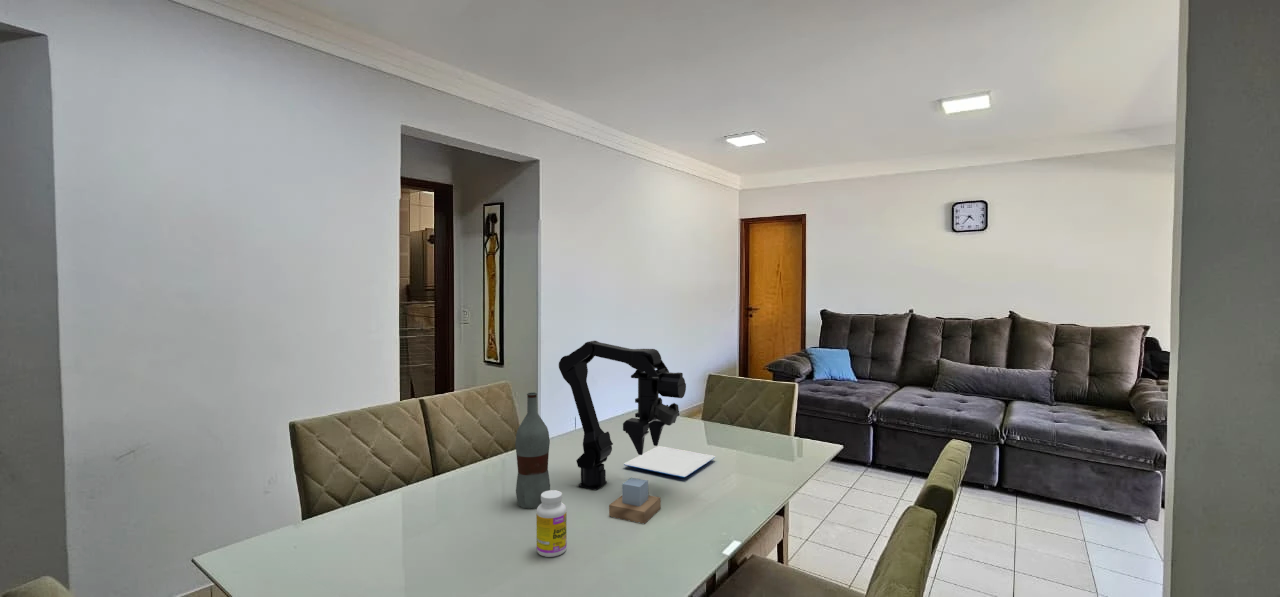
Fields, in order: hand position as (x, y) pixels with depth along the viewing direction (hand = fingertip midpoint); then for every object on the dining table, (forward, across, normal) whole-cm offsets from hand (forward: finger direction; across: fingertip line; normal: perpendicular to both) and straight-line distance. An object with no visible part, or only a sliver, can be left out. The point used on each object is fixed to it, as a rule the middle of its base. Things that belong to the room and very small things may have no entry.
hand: (648, 450), depth 154 cm
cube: (+10, -12, -2) cm, 15 cm away
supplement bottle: (+13, -38, +5) cm, 40 cm away
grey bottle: (+13, -19, +25) cm, 34 cm away
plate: (+13, +26, +5) cm, 30 cm away
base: (+13, -12, -2) cm, 18 cm away
